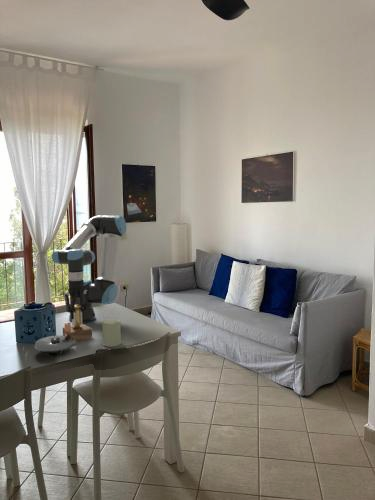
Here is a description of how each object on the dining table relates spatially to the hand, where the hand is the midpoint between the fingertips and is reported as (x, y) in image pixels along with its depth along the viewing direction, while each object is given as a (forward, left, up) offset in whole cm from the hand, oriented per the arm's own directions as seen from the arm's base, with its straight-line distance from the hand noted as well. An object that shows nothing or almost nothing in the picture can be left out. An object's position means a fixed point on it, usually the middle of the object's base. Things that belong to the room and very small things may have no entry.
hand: (77, 324), depth 210 cm
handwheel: (+12, -17, -4) cm, 21 cm away
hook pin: (0, 0, -7) cm, 7 cm away
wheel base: (+12, -17, -7) cm, 22 cm away
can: (+19, +9, -7) cm, 22 cm away
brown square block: (0, 0, -7) cm, 7 cm away
